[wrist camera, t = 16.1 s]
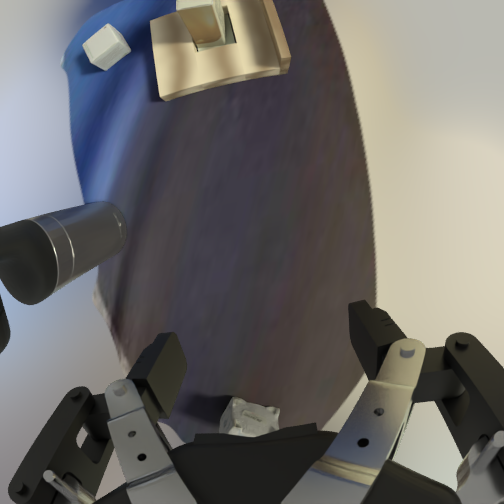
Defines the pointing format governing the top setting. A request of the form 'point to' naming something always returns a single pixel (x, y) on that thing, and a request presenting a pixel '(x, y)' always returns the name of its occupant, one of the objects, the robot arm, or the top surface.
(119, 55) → the small box
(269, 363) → the top surface
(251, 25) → the rack
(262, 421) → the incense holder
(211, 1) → the skincare box
